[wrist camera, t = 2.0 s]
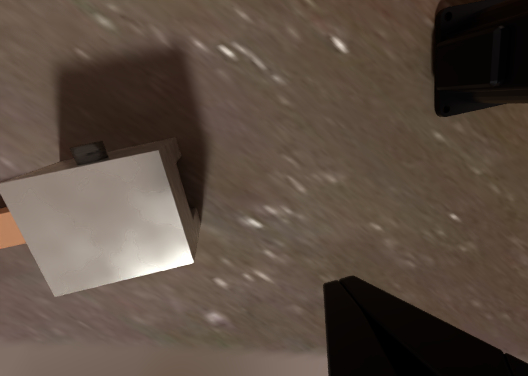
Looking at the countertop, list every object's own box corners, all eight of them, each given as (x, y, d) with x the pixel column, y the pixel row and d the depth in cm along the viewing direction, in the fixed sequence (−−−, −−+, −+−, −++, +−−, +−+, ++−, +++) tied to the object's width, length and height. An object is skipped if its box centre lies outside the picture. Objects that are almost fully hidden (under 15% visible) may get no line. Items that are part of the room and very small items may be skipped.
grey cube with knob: (172, 124, 17) (152, 132, 12) (201, 223, 19) (193, 262, 14) (54, 148, 16) (-14, 166, 12) (97, 247, 18) (54, 296, 14)
